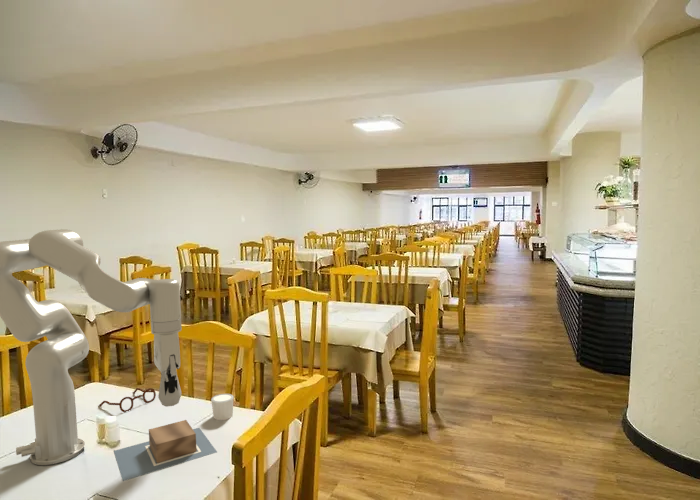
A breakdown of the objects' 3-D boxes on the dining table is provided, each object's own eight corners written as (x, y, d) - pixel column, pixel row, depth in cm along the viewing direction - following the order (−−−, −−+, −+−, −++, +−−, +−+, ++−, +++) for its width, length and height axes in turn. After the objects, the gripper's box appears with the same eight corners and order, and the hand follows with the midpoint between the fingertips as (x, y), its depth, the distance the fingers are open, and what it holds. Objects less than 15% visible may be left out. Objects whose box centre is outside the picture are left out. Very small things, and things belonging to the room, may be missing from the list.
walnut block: (157, 463, 119) (156, 444, 118) (149, 446, 127) (148, 429, 127) (196, 451, 124) (195, 433, 124) (186, 436, 133) (186, 419, 132)
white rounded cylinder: (238, 418, 146) (238, 397, 145) (219, 426, 141) (218, 404, 140) (226, 412, 151) (226, 391, 150) (207, 419, 146) (206, 398, 145)
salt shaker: (166, 409, 121) (164, 361, 120) (154, 404, 124) (152, 357, 123) (186, 402, 125) (184, 355, 124) (174, 397, 129) (172, 351, 128)
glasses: (121, 415, 150) (120, 400, 150) (98, 406, 157) (97, 392, 157) (156, 400, 162) (156, 387, 161) (134, 393, 168) (133, 380, 168)
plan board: (123, 484, 111) (122, 480, 111) (113, 454, 125) (113, 450, 125) (217, 455, 124) (217, 451, 124) (199, 430, 138) (199, 427, 138)
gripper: (145, 321, 127) (148, 386, 129) (158, 334, 114) (161, 406, 116) (173, 318, 132) (176, 380, 133) (189, 330, 118) (192, 399, 120)
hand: (169, 391), depth 124 cm, fingers closed on salt shaker, 3 cm apart
